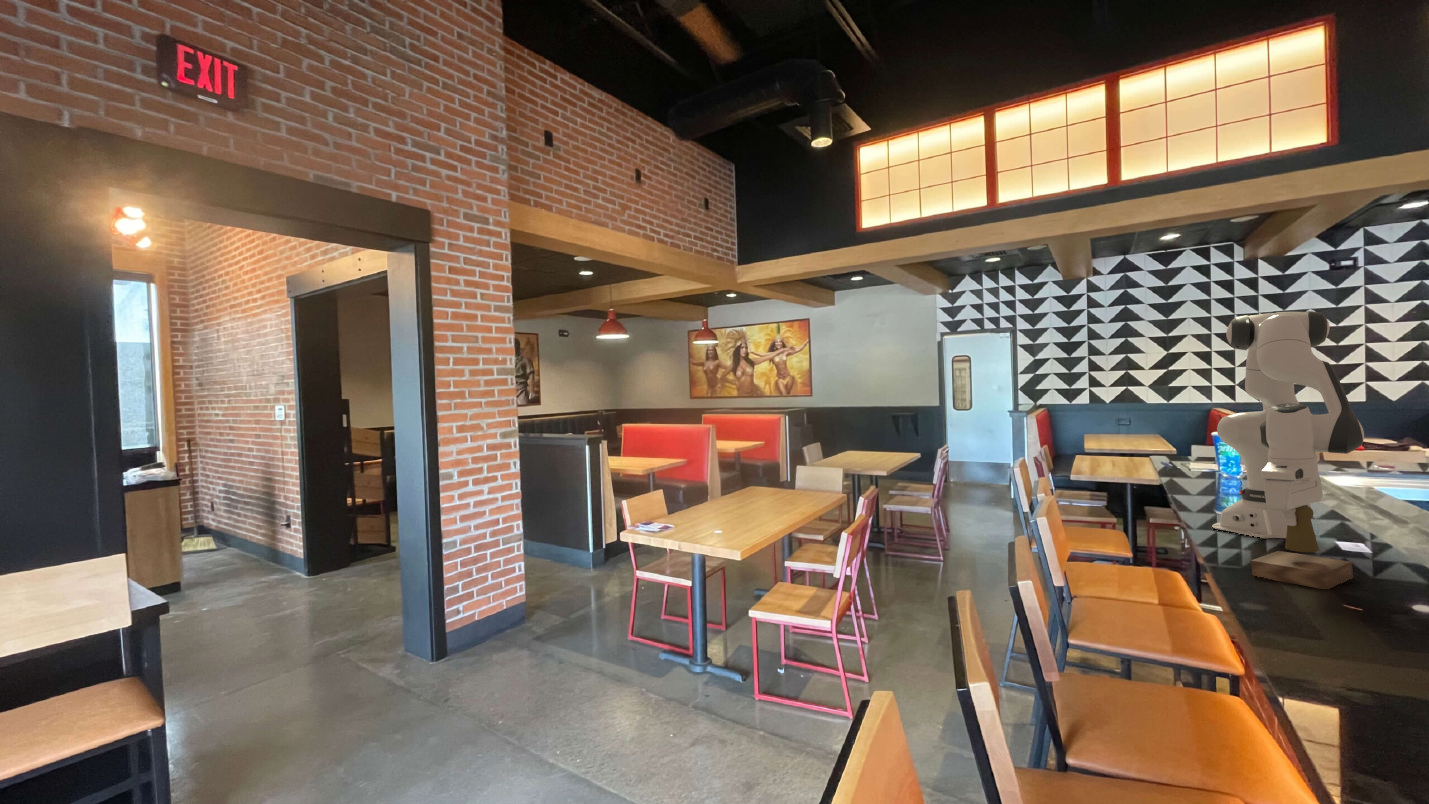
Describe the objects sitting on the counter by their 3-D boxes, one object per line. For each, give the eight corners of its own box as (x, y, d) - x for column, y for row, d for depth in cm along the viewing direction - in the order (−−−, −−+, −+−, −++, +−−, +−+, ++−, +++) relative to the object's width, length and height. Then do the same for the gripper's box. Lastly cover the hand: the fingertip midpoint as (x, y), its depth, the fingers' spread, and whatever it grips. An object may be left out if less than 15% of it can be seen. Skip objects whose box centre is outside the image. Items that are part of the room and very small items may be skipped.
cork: (1303, 545, 149) (1299, 502, 150) (1326, 551, 143) (1322, 506, 144) (1278, 546, 150) (1274, 504, 150) (1300, 552, 144) (1296, 508, 144)
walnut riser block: (1252, 575, 150) (1251, 560, 150) (1279, 565, 156) (1277, 550, 156) (1326, 589, 138) (1325, 572, 138) (1353, 578, 144) (1351, 561, 144)
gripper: (1296, 463, 154) (1300, 515, 154) (1256, 472, 146) (1261, 528, 146) (1328, 464, 149) (1333, 518, 149) (1290, 474, 140) (1295, 532, 140)
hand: (1297, 523), depth 147 cm, fingers closed on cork, 4 cm apart
